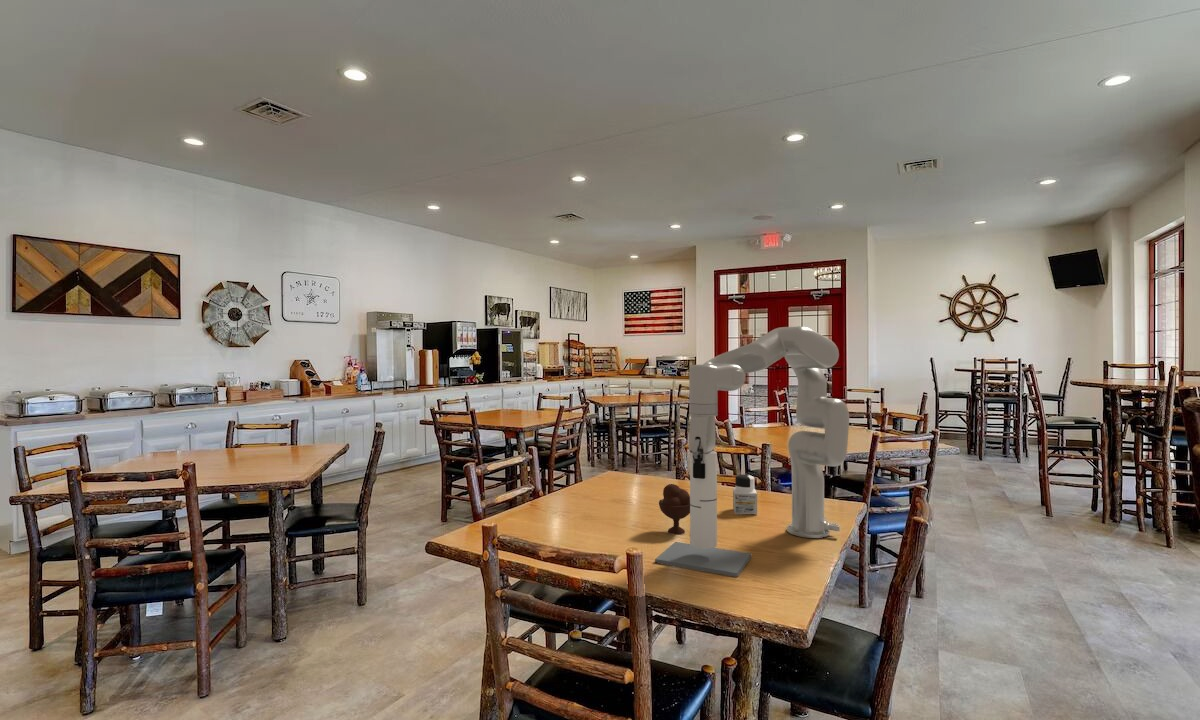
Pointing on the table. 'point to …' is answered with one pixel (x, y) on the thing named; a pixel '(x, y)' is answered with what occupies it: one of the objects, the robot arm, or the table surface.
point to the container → (744, 495)
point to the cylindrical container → (704, 504)
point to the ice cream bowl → (675, 506)
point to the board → (705, 559)
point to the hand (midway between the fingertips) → (703, 475)
